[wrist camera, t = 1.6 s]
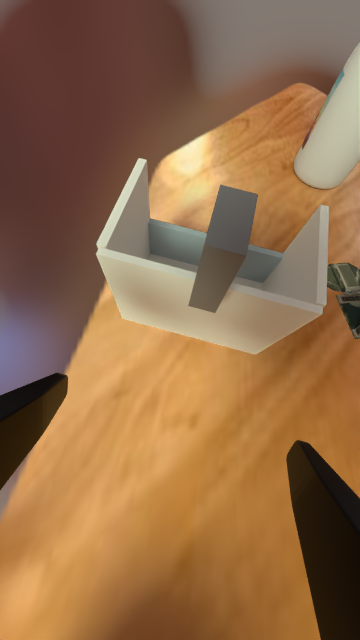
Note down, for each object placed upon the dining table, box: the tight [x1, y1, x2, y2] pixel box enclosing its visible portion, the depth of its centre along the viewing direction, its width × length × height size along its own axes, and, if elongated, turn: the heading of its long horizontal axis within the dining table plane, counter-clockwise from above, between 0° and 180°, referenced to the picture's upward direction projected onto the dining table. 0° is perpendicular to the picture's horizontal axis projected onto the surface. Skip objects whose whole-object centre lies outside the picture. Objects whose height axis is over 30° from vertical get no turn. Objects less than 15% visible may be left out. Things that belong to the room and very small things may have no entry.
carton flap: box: [96, 185, 323, 355], centre depth 16 cm, size 3×13×15 cm, turn 75°
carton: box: [97, 158, 329, 307], centre depth 21 cm, size 8×14×12 cm, turn 75°
